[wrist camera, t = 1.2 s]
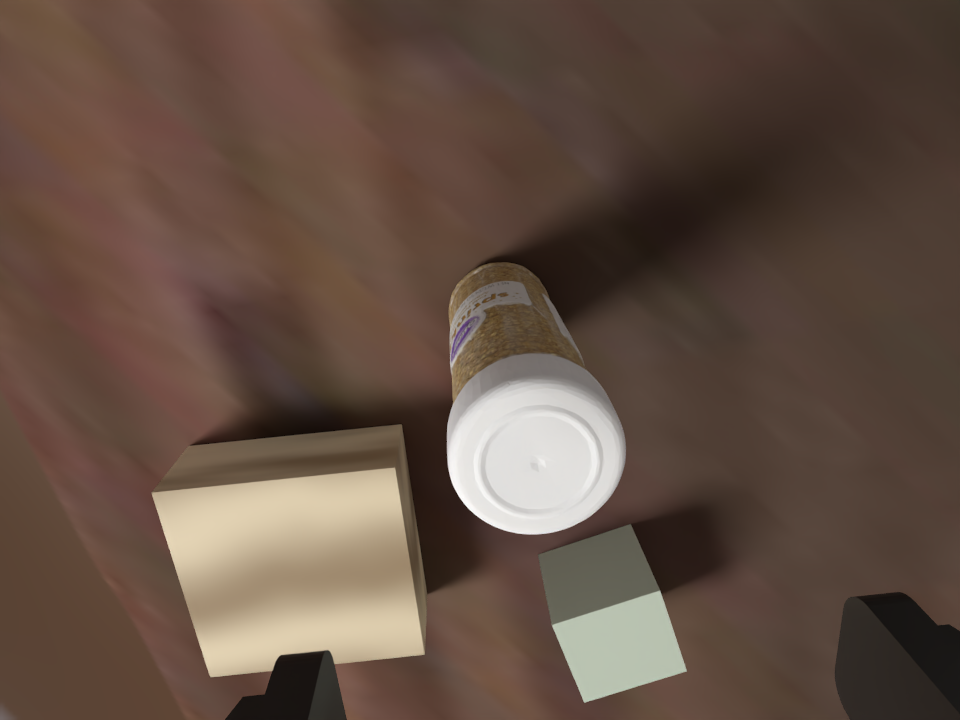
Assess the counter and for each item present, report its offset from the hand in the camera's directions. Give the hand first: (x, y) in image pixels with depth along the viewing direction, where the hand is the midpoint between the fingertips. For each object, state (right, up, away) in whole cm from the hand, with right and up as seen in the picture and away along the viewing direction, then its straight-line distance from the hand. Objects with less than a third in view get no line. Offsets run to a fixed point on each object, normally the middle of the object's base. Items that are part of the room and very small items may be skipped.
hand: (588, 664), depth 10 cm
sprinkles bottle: (-1, +7, +19) cm, 20 cm away
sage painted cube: (+4, -7, +24) cm, 25 cm away
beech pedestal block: (-10, -3, +22) cm, 24 cm away
